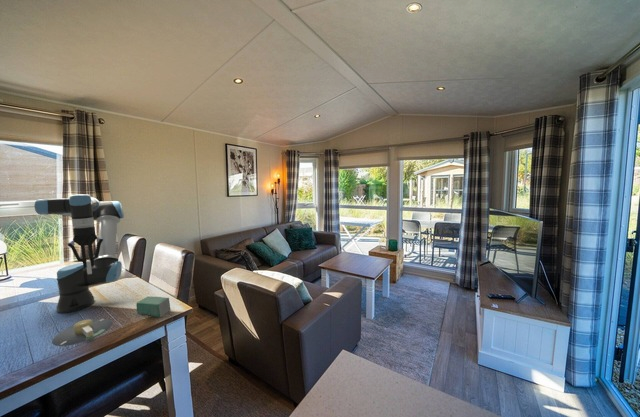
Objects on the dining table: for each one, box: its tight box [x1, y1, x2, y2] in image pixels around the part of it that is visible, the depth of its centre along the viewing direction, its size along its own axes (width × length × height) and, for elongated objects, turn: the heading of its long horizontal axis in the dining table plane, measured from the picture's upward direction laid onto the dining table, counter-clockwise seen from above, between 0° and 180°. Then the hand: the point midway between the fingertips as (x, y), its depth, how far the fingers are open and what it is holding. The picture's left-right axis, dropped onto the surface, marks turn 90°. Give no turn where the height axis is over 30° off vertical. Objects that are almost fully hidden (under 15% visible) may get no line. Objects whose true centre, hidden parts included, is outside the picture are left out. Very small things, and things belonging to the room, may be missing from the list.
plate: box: [51, 318, 113, 347], centre depth 113 cm, size 20×20×2 cm
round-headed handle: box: [73, 318, 94, 337], centre depth 111 cm, size 13×6×4 cm, turn 57°
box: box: [135, 296, 171, 318], centre depth 130 cm, size 7×14×8 cm, turn 82°
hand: (89, 273), depth 122 cm, fingers closed
